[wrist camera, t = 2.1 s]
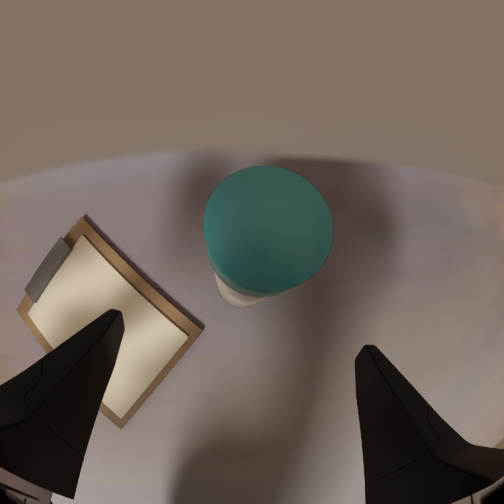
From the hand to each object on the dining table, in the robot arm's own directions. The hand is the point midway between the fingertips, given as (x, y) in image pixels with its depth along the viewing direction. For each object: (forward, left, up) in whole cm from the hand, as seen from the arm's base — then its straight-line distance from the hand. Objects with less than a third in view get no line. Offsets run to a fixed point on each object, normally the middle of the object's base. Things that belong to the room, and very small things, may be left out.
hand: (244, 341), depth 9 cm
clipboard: (+9, +7, -11) cm, 15 cm away
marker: (+2, -3, -11) cm, 11 cm away
